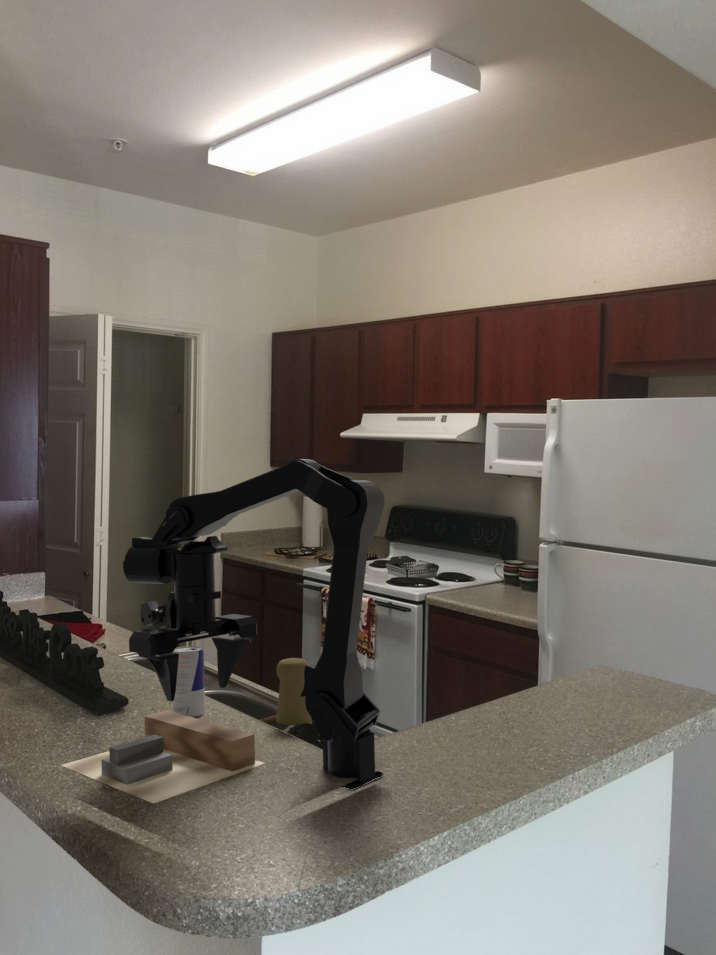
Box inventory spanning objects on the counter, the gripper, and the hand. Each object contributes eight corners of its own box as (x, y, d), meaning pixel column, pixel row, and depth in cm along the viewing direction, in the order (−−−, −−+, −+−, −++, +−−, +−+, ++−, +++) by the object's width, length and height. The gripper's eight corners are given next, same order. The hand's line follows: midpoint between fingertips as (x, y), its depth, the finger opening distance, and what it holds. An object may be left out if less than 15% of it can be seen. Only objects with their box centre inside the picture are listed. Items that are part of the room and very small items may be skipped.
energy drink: (211, 718, 139) (210, 647, 139) (190, 726, 135) (188, 653, 135) (187, 714, 142) (186, 644, 142) (165, 722, 137) (164, 650, 137)
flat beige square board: (265, 771, 112) (264, 733, 112) (154, 813, 99) (153, 769, 99) (169, 741, 127) (168, 707, 127) (60, 773, 113) (59, 736, 113)
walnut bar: (255, 763, 112) (254, 734, 112) (232, 771, 109) (231, 741, 109) (167, 736, 125) (167, 710, 126) (145, 742, 122) (144, 716, 123)
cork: (307, 733, 129) (305, 663, 130) (270, 732, 131) (268, 662, 131) (316, 722, 135) (315, 655, 135) (281, 721, 137) (279, 654, 137)
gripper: (210, 575, 130) (213, 674, 130) (105, 588, 116) (108, 699, 116) (258, 579, 123) (260, 684, 122) (151, 593, 109) (154, 712, 108)
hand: (197, 694), depth 117 cm, fingers open, 9 cm apart
